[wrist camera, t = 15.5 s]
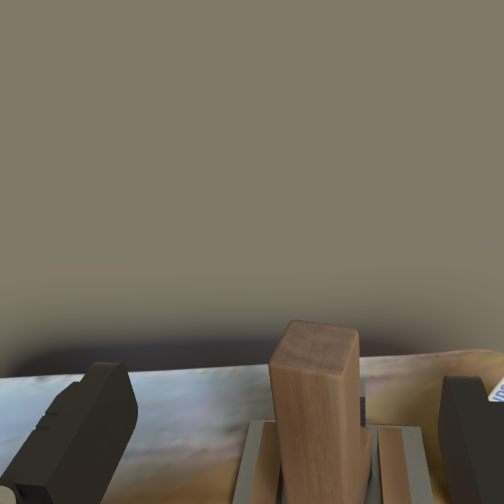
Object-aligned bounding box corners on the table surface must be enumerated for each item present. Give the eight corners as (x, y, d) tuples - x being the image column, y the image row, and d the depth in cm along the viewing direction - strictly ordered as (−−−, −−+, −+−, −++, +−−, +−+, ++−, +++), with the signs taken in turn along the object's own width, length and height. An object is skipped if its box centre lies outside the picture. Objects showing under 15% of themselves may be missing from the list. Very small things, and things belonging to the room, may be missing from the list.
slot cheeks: (246, 563, 35) (241, 543, 33) (266, 440, 44) (264, 421, 43) (418, 582, 32) (419, 561, 31) (400, 448, 42) (401, 428, 41)
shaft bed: (220, 575, 35) (205, 517, 32) (254, 414, 48) (245, 361, 45) (449, 602, 32) (458, 540, 29) (417, 421, 45) (420, 365, 42)
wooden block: (322, 451, 42) (310, 280, 34) (373, 464, 41) (373, 287, 32) (290, 547, 35) (264, 361, 27) (350, 568, 33) (342, 376, 25)
